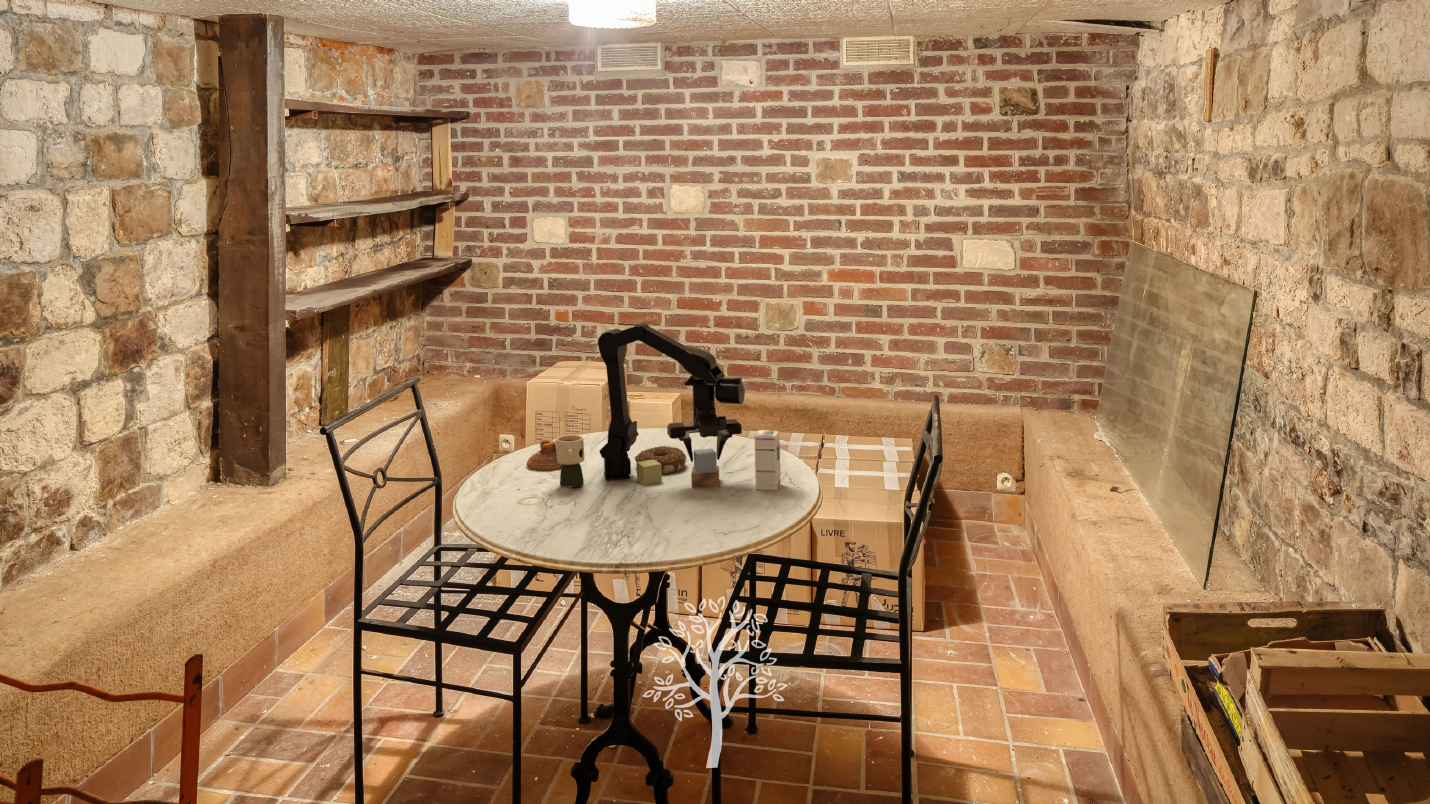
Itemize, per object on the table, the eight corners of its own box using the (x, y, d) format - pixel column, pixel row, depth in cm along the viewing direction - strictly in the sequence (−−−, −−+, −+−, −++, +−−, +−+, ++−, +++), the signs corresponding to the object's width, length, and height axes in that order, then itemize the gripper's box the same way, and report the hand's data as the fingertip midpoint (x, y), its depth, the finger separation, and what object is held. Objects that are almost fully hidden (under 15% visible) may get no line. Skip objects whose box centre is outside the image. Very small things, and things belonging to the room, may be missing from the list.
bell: (566, 472, 277) (564, 446, 275) (522, 472, 277) (521, 447, 275) (572, 460, 288) (571, 435, 286) (531, 460, 288) (529, 436, 287)
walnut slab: (691, 488, 261) (691, 474, 260) (692, 480, 268) (692, 466, 267) (718, 488, 260) (718, 473, 260) (719, 480, 267) (719, 465, 266)
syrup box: (777, 490, 257) (777, 435, 254) (754, 489, 258) (754, 435, 255) (780, 484, 262) (780, 430, 259) (758, 482, 263) (757, 429, 260)
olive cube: (644, 485, 264) (643, 466, 263) (637, 480, 268) (636, 462, 267) (661, 482, 266) (661, 464, 265) (654, 477, 270) (653, 459, 269)
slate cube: (697, 473, 260) (697, 455, 259) (694, 468, 265) (693, 449, 264) (716, 471, 261) (716, 453, 260) (712, 466, 266) (712, 448, 265)
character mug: (586, 491, 259) (583, 442, 256) (558, 493, 258) (555, 444, 255) (585, 479, 269) (582, 432, 266) (558, 480, 268) (555, 433, 265)
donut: (689, 461, 284) (688, 444, 283) (683, 476, 271) (682, 458, 270) (639, 460, 286) (638, 443, 285) (630, 475, 273) (630, 457, 272)
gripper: (673, 411, 249) (674, 472, 253) (746, 407, 253) (747, 466, 257) (666, 401, 260) (667, 460, 264) (736, 397, 264) (737, 454, 267)
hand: (705, 460), depth 263 cm, fingers open, 7 cm apart
